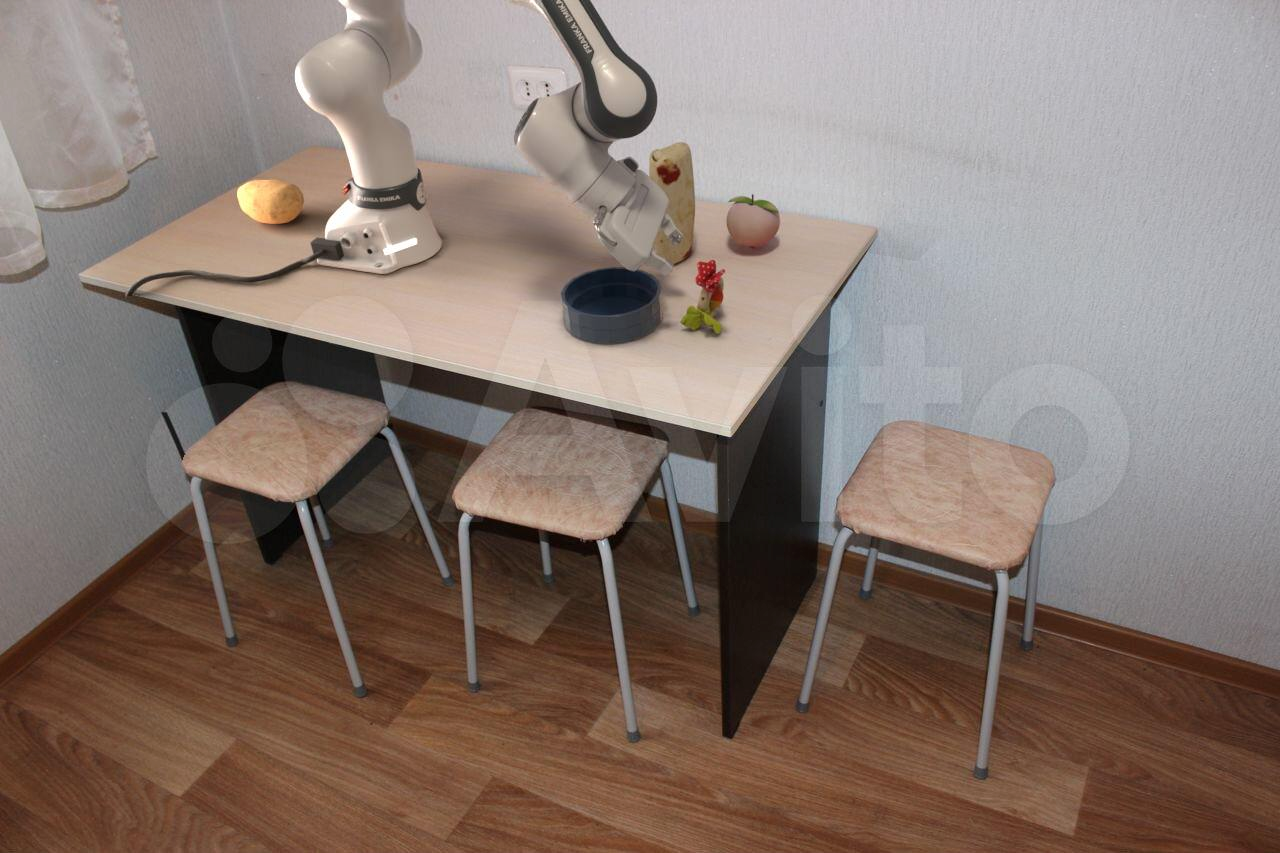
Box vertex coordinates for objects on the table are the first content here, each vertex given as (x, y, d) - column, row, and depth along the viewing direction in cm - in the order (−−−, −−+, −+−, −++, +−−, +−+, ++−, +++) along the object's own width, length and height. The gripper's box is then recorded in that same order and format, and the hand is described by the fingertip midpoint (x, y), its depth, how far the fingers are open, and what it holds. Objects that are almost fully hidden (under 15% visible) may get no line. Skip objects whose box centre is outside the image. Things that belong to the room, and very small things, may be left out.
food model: (676, 274, 175) (670, 161, 163) (643, 265, 178) (635, 154, 166) (705, 249, 181) (702, 139, 169) (673, 242, 184) (668, 132, 172)
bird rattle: (693, 324, 166) (675, 332, 158) (700, 254, 163) (682, 258, 155) (730, 330, 164) (714, 337, 156) (738, 259, 161) (722, 263, 153)
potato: (265, 206, 208) (253, 168, 204) (321, 215, 203) (310, 176, 198) (231, 227, 201) (218, 188, 197) (288, 237, 196) (276, 197, 191)
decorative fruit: (719, 256, 179) (718, 203, 173) (733, 235, 185) (732, 182, 179) (772, 263, 176) (773, 208, 170) (784, 241, 182) (785, 187, 176)
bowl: (553, 342, 160) (550, 315, 157) (577, 292, 172) (574, 265, 169) (653, 347, 157) (651, 319, 154) (670, 295, 169) (668, 268, 166)
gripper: (605, 211, 142) (678, 277, 146) (633, 151, 158) (698, 212, 162) (577, 239, 146) (649, 303, 150) (607, 178, 162) (671, 237, 166)
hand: (675, 255), depth 156 cm, fingers open, 8 cm apart
